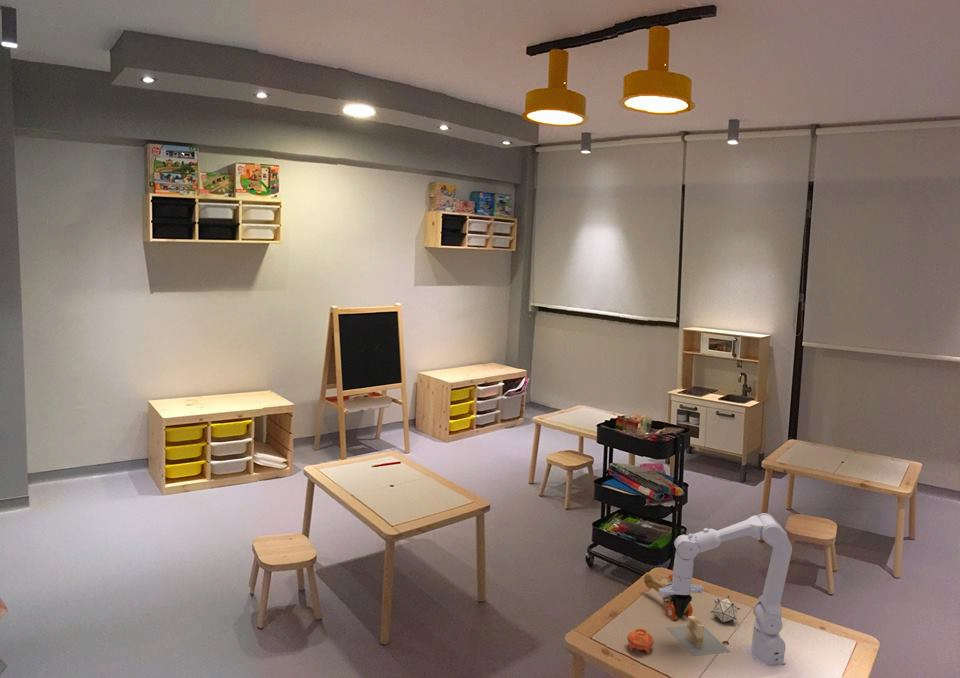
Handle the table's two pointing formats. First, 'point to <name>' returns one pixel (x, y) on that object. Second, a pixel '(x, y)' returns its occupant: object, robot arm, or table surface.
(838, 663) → the table surface
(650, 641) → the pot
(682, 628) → the rubber mat
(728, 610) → the game die
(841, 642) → the table surface
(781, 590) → the robot arm
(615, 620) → the table surface
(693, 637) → the oak tile
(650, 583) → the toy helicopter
